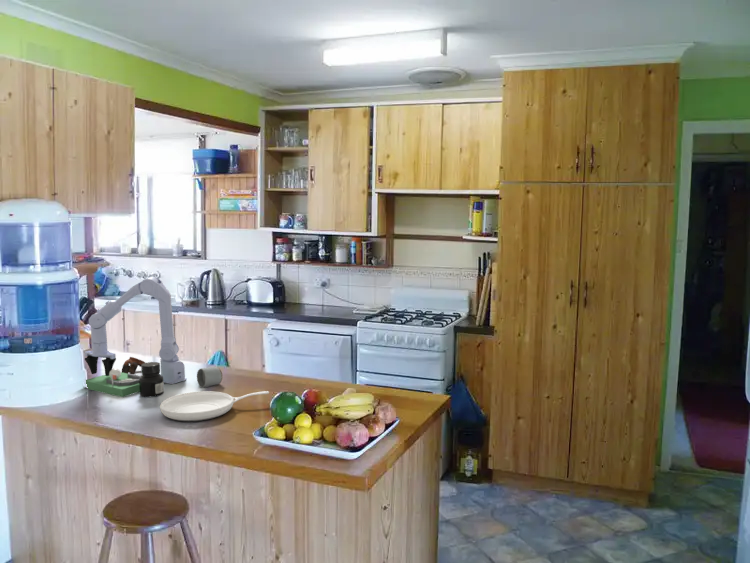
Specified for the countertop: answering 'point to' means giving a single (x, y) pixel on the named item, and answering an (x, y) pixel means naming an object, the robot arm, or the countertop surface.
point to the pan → (199, 405)
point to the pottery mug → (131, 365)
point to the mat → (115, 384)
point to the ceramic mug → (209, 376)
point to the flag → (113, 378)
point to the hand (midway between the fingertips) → (101, 374)
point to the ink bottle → (151, 380)
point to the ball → (115, 372)
